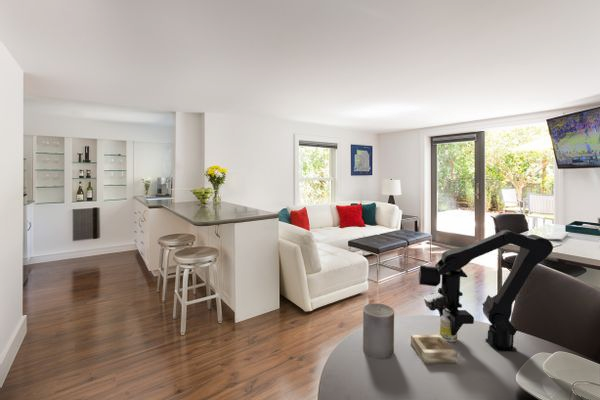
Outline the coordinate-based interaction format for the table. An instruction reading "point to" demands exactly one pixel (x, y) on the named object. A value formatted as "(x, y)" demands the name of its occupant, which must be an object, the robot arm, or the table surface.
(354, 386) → the table surface
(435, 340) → the square holder
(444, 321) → the supplement bottle
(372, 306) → the pillar candle
